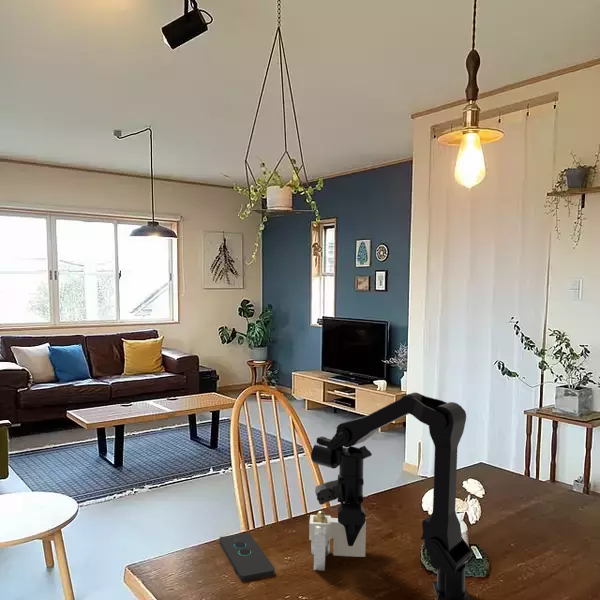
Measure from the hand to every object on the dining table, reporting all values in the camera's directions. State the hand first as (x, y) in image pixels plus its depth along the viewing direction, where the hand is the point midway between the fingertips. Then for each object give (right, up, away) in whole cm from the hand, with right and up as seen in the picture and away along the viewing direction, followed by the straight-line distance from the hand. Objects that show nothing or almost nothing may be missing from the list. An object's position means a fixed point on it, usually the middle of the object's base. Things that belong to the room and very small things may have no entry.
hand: (349, 536), depth 133 cm
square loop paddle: (-3, -4, 0) cm, 5 cm away
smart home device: (-25, -4, -3) cm, 25 cm away
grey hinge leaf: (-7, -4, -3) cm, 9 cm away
